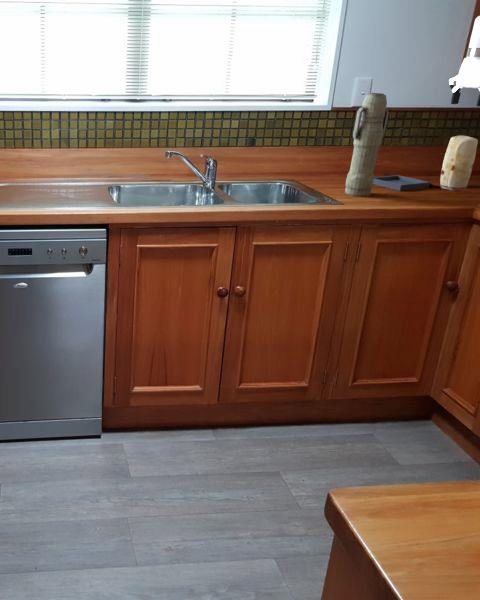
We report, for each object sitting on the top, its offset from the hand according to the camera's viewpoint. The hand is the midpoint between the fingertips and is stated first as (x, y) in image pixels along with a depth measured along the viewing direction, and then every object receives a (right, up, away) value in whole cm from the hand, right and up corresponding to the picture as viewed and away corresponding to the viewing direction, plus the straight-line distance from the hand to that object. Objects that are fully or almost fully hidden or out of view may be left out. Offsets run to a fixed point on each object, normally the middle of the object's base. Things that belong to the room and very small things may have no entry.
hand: (466, 105), depth 219 cm
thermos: (-38, -32, +4) cm, 49 cm away
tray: (-15, -26, +18) cm, 35 cm away
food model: (+2, -29, +12) cm, 31 cm away
